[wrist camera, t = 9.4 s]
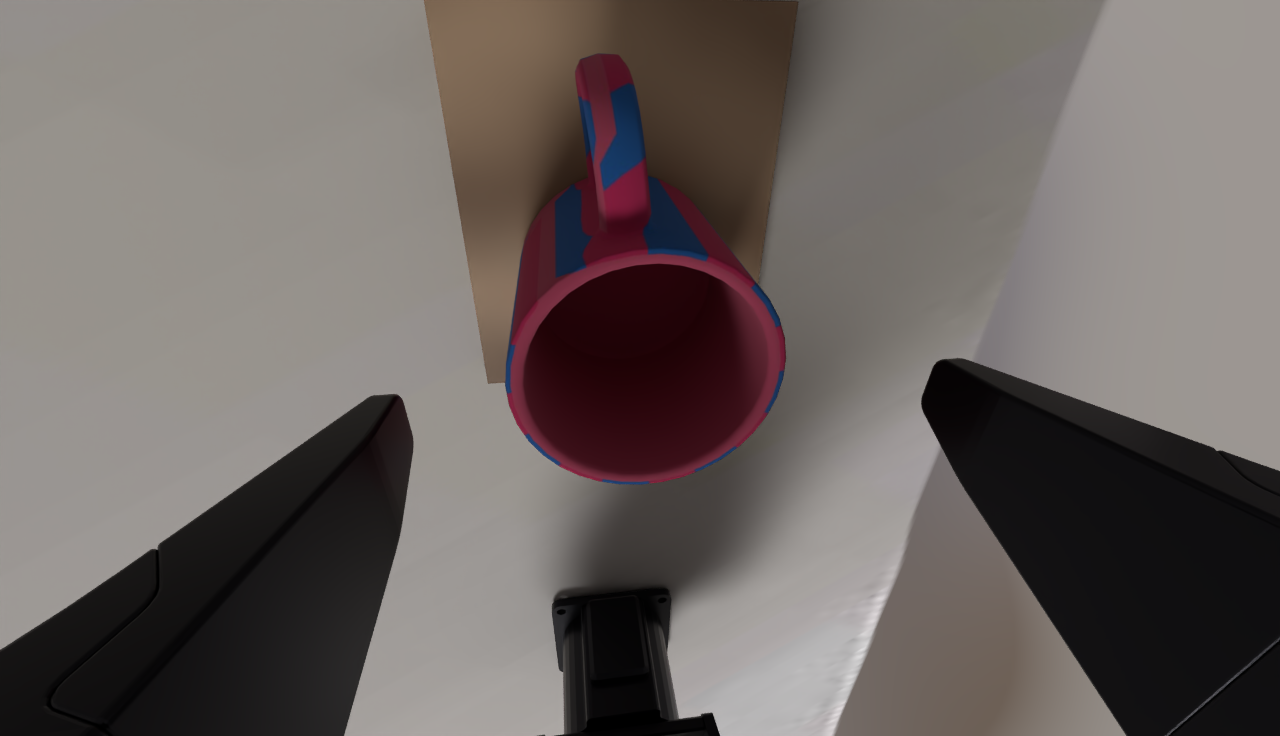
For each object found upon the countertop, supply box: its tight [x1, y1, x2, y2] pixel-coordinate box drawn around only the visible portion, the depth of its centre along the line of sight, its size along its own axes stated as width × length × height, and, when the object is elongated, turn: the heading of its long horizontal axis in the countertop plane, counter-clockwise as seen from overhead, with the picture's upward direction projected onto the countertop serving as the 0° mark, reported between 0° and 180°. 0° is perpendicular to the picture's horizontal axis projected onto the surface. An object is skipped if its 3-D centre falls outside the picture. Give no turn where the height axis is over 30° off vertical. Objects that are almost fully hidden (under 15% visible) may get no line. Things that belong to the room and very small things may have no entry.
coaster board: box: [424, 0, 798, 384], centre depth 18 cm, size 12×10×1 cm
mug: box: [505, 53, 786, 484], centre depth 15 cm, size 7×10×7 cm
